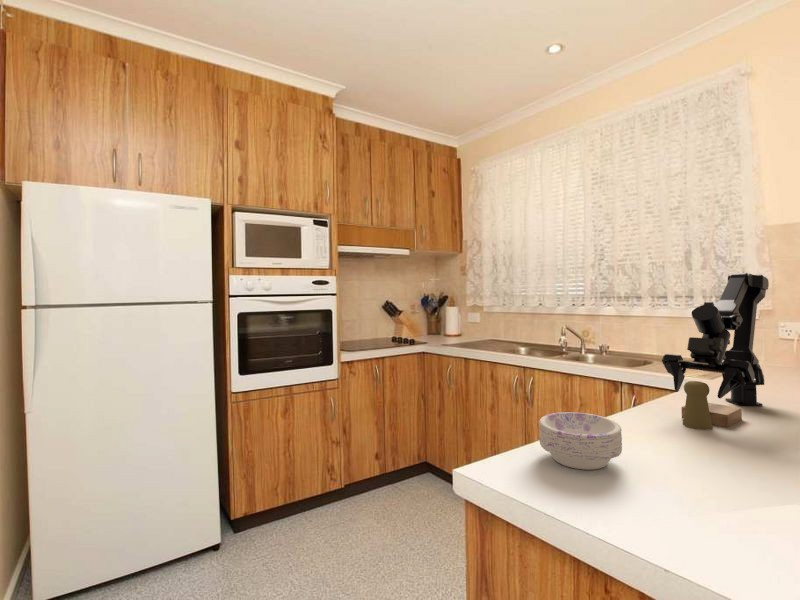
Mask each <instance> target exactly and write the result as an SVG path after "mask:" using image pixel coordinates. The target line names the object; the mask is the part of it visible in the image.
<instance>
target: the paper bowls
mask: <svg viewBox="0 0 800 600" xmlns="http://www.w3.org/2000/svg"><path fill="white" fill-rule="evenodd" d="M538 425H539V427H538V428H539V433H538V435H539V445H540V447H541V448H542V449H543V450H544V451H546V452H548V453H549V454H550V455H551V458H552V459H553V460H554V461H556V463H558V464H560V465H563V466H564V467H567V468H571V469H574V470H575V469H576V470H585V471H587V470H588V471H590V470H591V471H593V470H599V469H602V468H604V467H606V466H607V465H608V464H610V463H609V462H610V461H611V459H614V458H617V457H619V456H620V455H621V454H622V451H623V442H622V440H623V437H622V426H620V424H619V423H618V422H616V421H615V420H613V419H611V418H609V417H605V416H601V415H597V414H592V413H585V412H573V411H572V412H571V411H570V412H568V411H565V412H561V411H560V412H554V413H553V412H552V413H548V414H545V415H543V416H542V417H541V418H540V419H539V421H538Z"/></svg>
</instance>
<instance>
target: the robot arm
mask: <svg viewBox="0 0 800 600" xmlns="http://www.w3.org/2000/svg"><path fill="white" fill-rule="evenodd" d="M769 283H770V282H769V279H768V278H767V277H766V276H764V275H763V274H752V273H749V272H740V273H738V272H737V273H735V272H734V273H731V274H728V275H727V283H726V285H725V287H724V288H723V289H724V290H723V291H722V294H721V295H720V297H719V299H718V301H717V302H715V303H714V302H713V301H711V302H709V301H707V302H706V301H705V302H703V304H702V305H698V306H697V307H695V308H694V309H693V310H692V312H691V317H692V319H693V322H694V323H695V327H696V328H697V331H698V332H699V333H701V334H702V336H701V337H694V336H693V337H689V338H688V342H687V349H686V350H687V351H689V353H690V355H689V356H690V358H691V359H693V360H685V359H683V356H682V354H673V353H672V354H671V353H666V354H664V355H663V357H662V359H661V363H662V364H663V367H664V368H665V370H666V372H667V373H668V374H670V375H671V376H672V377H673V386H674V391H675V393H679V391H680V389H681V387H682V385H683V382H684V380H685V377H686V376H685V374H686V372H687V369H688V370H696V371H703V372H708V373H716V374H717V373H718V374H721V376H722V381H721V383H720V386H719V388H718V392H717V398H718V399H722V398H723V397H724V396H726V395H728V393H730V398H729V397H728V398H724V399H725V401H727V402H728V403H732V404H733V405H737V406H754V407H755V406H759V407H760V406H762V407H763V406H764V405H763V403H761V402H758V398H757V395H758V394H757V393H758V392H757V386H764V385H765V376H764V371H763V369H762V368H761V365H760V364H759V363H760V362H759V359H758V357H757V355H755V352H754V350H753V349H754V340H755V339H754V338H755V332H756V331H755V329H756V319H757V309H758V305H759V303H760V302H761V301H763V299H764V298H765V297H766V293H767V290H768V289H769V287H770V285H769ZM729 331H734V333H733V341H732V347H731V348H730V349H727V348H728V345H731V340H730V339H731V333H730V332H729Z"/></svg>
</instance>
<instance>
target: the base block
mask: <svg viewBox="0 0 800 600" xmlns="http://www.w3.org/2000/svg"><path fill="white" fill-rule="evenodd" d="M708 406H709V412H710V418H711V423H712V425H715V426H718V427H724V428H729V427H731V426H733V425H735V424H736V423H739V422H740V421H742V419H743V416H742V415H743V413H742V411H743V410H742V407H739V406H738V407H737V406H732V405H725V404H718V403H714V402H712V403H711V402H708ZM684 411H685V405H683V406H681V419H683V418H684Z"/></svg>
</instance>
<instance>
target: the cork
mask: <svg viewBox="0 0 800 600" xmlns="http://www.w3.org/2000/svg"><path fill="white" fill-rule="evenodd" d="M683 390H684V393H685V394H686V396H685V397H686V399H685V405H684V406H685V411H684V418H682V426H684V427H686V428H689V429H693V430H701V431H702V430H703V431H704V430H705V431H707V430H712V429H713V424H712V423H711V418H710V412H709V406H708V403H709V402H708V395H709V394H710V387H709V385H708V384H707V383H705V382H702V381H695V380H694V381H692V380H691V381H687V382H685V383H684V385H683Z"/></svg>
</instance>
